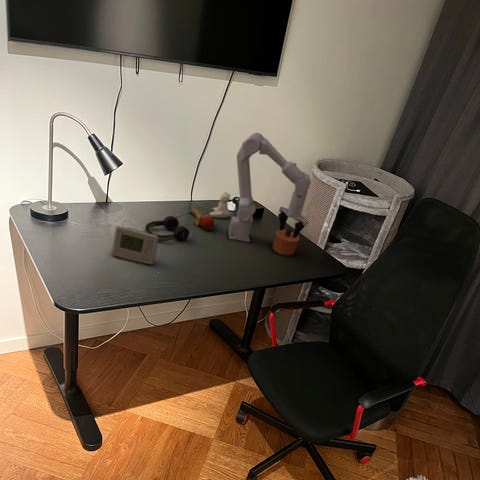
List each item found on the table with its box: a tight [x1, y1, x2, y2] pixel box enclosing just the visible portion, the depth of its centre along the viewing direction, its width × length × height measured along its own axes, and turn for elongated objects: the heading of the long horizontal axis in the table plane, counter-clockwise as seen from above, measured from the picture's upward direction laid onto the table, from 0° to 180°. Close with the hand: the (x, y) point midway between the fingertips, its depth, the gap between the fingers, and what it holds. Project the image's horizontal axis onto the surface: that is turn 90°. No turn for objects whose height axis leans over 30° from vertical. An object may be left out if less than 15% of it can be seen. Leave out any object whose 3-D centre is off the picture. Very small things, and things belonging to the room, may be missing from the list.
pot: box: [271, 234, 299, 256], centre depth 208 cm, size 10×10×7 cm
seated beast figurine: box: [209, 192, 231, 219], centre depth 223 cm, size 10×9×12 cm
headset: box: [144, 211, 193, 242], centre depth 196 cm, size 14×10×20 cm
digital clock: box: [110, 225, 159, 265], centre depth 173 cm, size 16×9×11 cm, turn 72°
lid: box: [274, 227, 301, 242], centre depth 205 cm, size 11×11×4 cm
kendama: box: [191, 208, 215, 231], centre depth 214 cm, size 8×6×18 cm
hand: (288, 233), depth 205 cm, fingers open, 7 cm apart
